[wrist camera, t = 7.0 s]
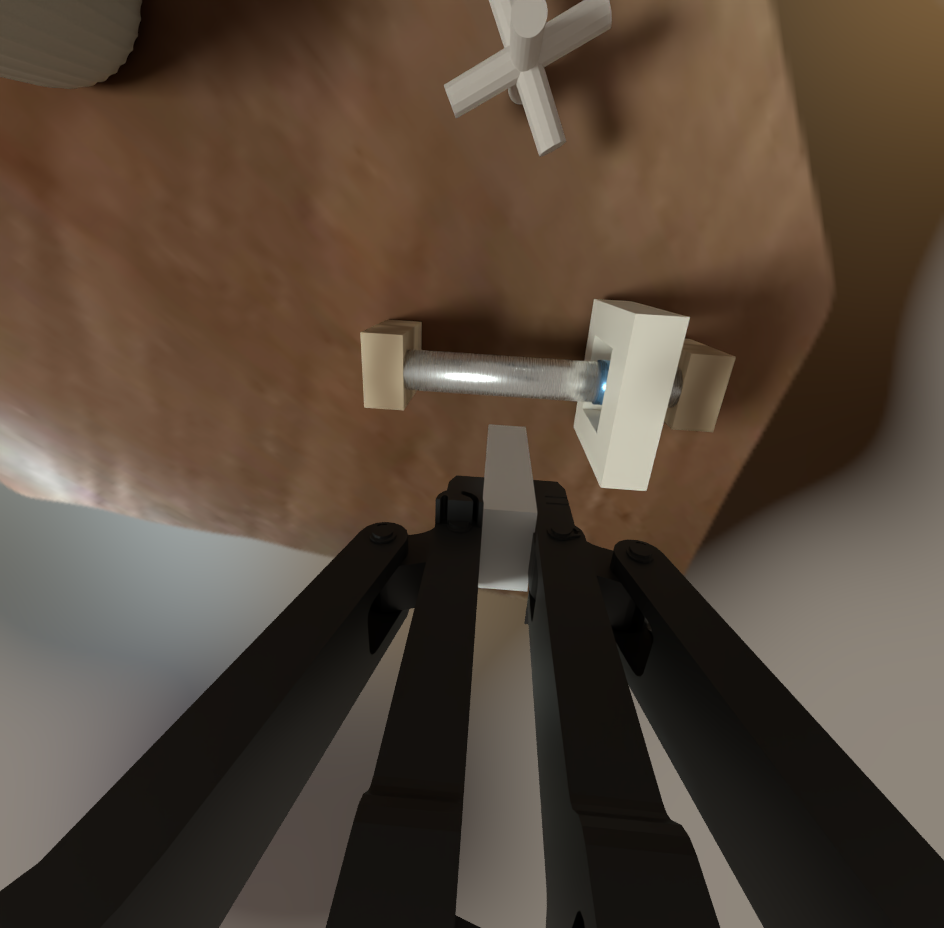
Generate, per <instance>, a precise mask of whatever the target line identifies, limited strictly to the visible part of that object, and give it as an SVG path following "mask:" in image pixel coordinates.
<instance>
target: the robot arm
mask: <svg viewBox="0 0 944 928" xmlns="http://www.w3.org/2000/svg"><path fill="white" fill-rule="evenodd" d="M528 581H529V594H528V601H527V609H526V616H525V624H528V623H529V637H530V652H531V667H532V681H533V696H534V711H535V725H536V740H537V755H538V768H539V784H540V799H541V813H542V828H543V842H544V857H545V872H546V887H547V916H546V928H720V926H719V922H718V920H717V916H716V913H715V910H714V907H713V904H712V901H711V898H710V895H709V892H708V888H707V885H706V882H705V879H704V876H703V873H702V870H701V867H700V864H699V861H698V858H697V855H696V852H695V850H694V848H693V845H692V842H691V840H690V838H689V836H688V834H687V833H686V831H685V830H684V828H683V827H682V825H680V824H678V823H676V822H674V821H672V820H671V819H670V818H669V816H668V815H667V813H666V810H665V808H664V805H663V802H662V799H661V795H660V792H659V788H658V785H657V781H656V778H655V775H654V771H653V768H652V764H651V761H650V757H649V754H648V751H647V747H646V744H645V740H644V737H643V733H642V730H641V727H640V723H639V720H638V716H637V713H636V710H635V706H634V703H633V700H632V696H631V693H630V689H629V687H630V688H631V690H632V692H633V694H634V696H635V697H636V699H637V701H638V703H639V704H640V706H641V708H642V710H643V712H644V713H645V715H646V717H647V719H648V721H649V722H650V724H651V726H652V728H653V730H654V731H655V733H656V735H657V737H658V739H659V740H660V742H661V744H662V746H663V748H664V749H665V751H666V753H667V754H668V757H669V758H670V760H671V762H672V764H673V765H674V767H675V769H676V771H677V773H678V774H679V776H680V778H681V780H682V781H683V783H684V785H685V787H686V789H687V791H688V792H689V794H690V796H691V798H692V800H693V801H694V803H695V805H696V807H697V809H698V810H699V812H700V814H701V816H702V818H703V819H704V821H705V823H706V825H707V826H708V828H709V830H710V832H711V834H712V835H713V837H714V839H715V841H716V842H717V844H718V846H719V848H720V850H721V851H722V853H723V855H724V857H725V859H726V861H727V862H728V864H729V866H730V868H731V870H732V871H733V873H734V875H735V876H736V878H737V880H738V882H739V884H740V886H741V887H742V889H743V891H744V893H745V895H746V896H747V898H748V900H749V902H750V904H751V905H752V907H753V909H754V911H755V913H756V914H757V916H758V918H759V920H760V921H761V923H762V925H763V927H764V928H944V860H943V859H942V858H941V857H940V856H939V855H938V854H937V852H935V850H934V849H933V848H932V847H931V846H930V845H929V844H928V842H927V841H926V840H925V839H924V838H923V837H922V836H921V835H920V834H919V833H918V832H917V831H916V829H915V828H914V827H913V826H912V825H911V824H910V823H909V822H908V821H907V820H906V818H905V817H904V816H903V815H902V814H901V813H900V812H899V811H898V810H897V809H896V807H894V805H893V804H892V803H891V802H890V801H889V800H888V799H887V798H886V797H885V795H884V794H883V793H882V792H881V791H880V790H879V789H878V788H877V787H876V786H875V785H874V783H873V782H872V781H871V780H870V779H869V778H868V777H867V776H866V775H865V774H864V773H863V772H862V771H861V769H860V768H859V767H858V766H857V765H856V764H855V763H854V762H853V760H852V759H851V758H850V757H849V756H848V755H847V754H846V753H845V752H844V751H843V750H842V748H840V746H839V745H838V744H837V743H836V742H835V741H834V740H833V739H832V738H831V737H830V735H829V734H828V733H827V732H826V731H825V730H824V729H823V728H822V727H821V726H820V724H819V723H818V722H817V721H816V720H815V719H814V718H813V717H812V716H811V715H810V713H809V712H808V711H807V710H806V709H805V708H804V707H803V706H802V705H801V704H800V703H799V702H798V701H797V699H796V698H795V697H794V696H793V695H792V694H791V693H790V692H789V691H788V689H787V688H786V687H785V686H784V685H783V684H782V683H781V682H780V681H779V680H778V678H777V677H775V675H774V674H773V673H772V672H771V671H770V670H769V669H768V668H767V666H766V665H765V664H764V663H763V662H762V661H761V660H760V659H759V658H758V657H757V656H756V655H755V653H754V652H753V651H752V650H751V649H750V648H749V647H748V646H747V645H746V644H745V643H744V641H743V640H742V639H741V638H740V637H739V636H738V635H737V634H736V633H735V631H734V630H733V629H732V628H731V627H730V626H729V625H728V624H727V623H726V622H725V621H724V619H723V618H722V617H721V616H720V615H719V614H718V613H717V612H716V611H715V610H714V609H713V608H712V606H711V605H710V604H709V603H708V602H707V601H706V600H705V599H704V598H703V597H702V595H701V594H700V593H699V592H698V591H697V590H696V589H695V588H694V587H693V586H692V584H691V583H690V582H689V581H688V580H687V579H686V578H685V577H684V576H683V575H682V574H681V572H680V571H679V570H678V569H677V568H676V567H675V566H674V565H673V564H672V563H671V562H670V560H669V559H668V558H667V557H666V556H665V555H664V554H663V553H662V552H661V551H660V550H658V549H657V548H656V547H654V546H652V545H650V544H648V543H646V542H643V541H638V540H623V541H619V542H618V543H617V544H616V545H615V547H614V551H612V550H609V549H605V548H601V547H598V546H595V545H593V544H591V543H589V542H587V541H586V538H585V535H584V534H583V532H582V530H581V529H579V528H578V527H576V526H575V525H574V521H573V517H572V514H571V510H570V506H569V503H568V499H567V495H566V492H565V489H564V488H563V487H562V486H561V485H560V484H559V483H558V482H553V481H539V480H533V477H532V470H531V462H530V455H529V448H528V441H527V434H526V427H516V426H502V425H489V427H488V440H487V452H486V465H485V477H484V478H483V477H469V476H455V477H454V478H453V479H452V480H451V481H450V482H449V484H448V489H447V491H444V492H442V493H440V494H439V495H438V496H437V498H436V515H435V528H433V529H432V530H430V531H427V532H424V533H420V534H414V535H408V534H407V530H406V529H405V528H404V527H402V526H401V525H398V524H396V523H389V522H382V523H381V522H380V523H375V524H372V525H369V526H367V527H366V528H364V529H363V530H361V531H360V532H359V533H358V534H357V535H356V536H355V537H354V538H353V540H352V541H351V542H350V543H349V544H348V545H347V546H346V547H345V548H344V549H343V550H342V551H341V552H340V553H339V554H338V555H337V556H336V557H335V558H334V559H333V560H332V561H331V562H330V563H329V565H328V566H326V567H325V568H324V569H323V570H322V572H320V574H319V575H318V576H317V577H316V578H315V579H314V580H313V581H312V582H311V583H310V584H309V585H308V586H307V587H306V588H305V589H304V590H303V591H302V592H301V593H300V594H299V595H298V596H297V597H296V598H295V599H294V600H293V601H292V603H290V604H289V605H288V606H287V608H286V609H285V610H284V611H283V612H282V613H281V614H280V615H279V616H278V617H277V618H276V619H275V620H274V621H273V622H272V623H271V624H270V625H269V626H268V627H267V628H266V629H265V630H264V631H263V632H262V633H261V634H260V635H259V636H258V637H257V639H255V641H254V642H253V643H252V644H251V645H250V646H249V647H248V648H247V649H246V650H245V651H244V652H243V653H242V654H241V655H240V656H239V657H238V658H237V659H236V660H235V661H234V662H233V663H232V664H231V665H230V666H229V667H228V669H226V670H225V671H224V672H223V673H222V674H221V675H220V677H219V678H218V679H217V680H216V681H215V682H214V683H213V684H212V685H211V686H210V687H209V688H208V689H207V690H206V691H205V692H204V693H203V694H202V695H201V696H200V697H199V698H198V699H197V700H196V701H195V702H194V703H193V704H192V705H191V707H189V708H188V709H187V711H186V712H185V713H184V714H183V715H182V716H181V717H180V718H179V719H178V720H177V721H176V722H175V723H174V724H173V725H172V726H171V727H170V728H169V729H168V730H167V731H166V732H165V733H164V734H163V735H162V736H161V737H160V739H158V740H157V741H156V743H154V744H153V746H152V747H151V748H150V749H149V750H148V751H147V752H146V753H145V754H144V755H143V756H142V757H141V758H140V759H139V760H138V761H137V762H136V763H135V764H134V765H133V766H132V767H131V768H130V769H129V770H128V771H127V772H126V773H125V774H124V776H122V777H121V779H120V780H119V781H118V782H117V783H116V784H115V785H114V786H113V787H112V788H111V789H110V790H109V791H108V792H107V793H106V794H105V795H104V796H103V797H102V798H101V799H100V800H99V801H98V802H97V803H96V804H95V805H94V806H93V807H92V808H91V809H90V810H89V811H88V813H86V815H85V816H84V817H83V818H82V819H81V820H80V821H79V822H78V823H77V824H76V825H75V826H74V827H73V828H72V829H71V830H70V831H69V832H68V833H67V834H66V835H65V836H64V837H63V838H62V839H61V841H59V842H58V843H57V844H56V846H54V848H52V850H51V851H50V852H49V853H48V854H47V855H46V856H45V857H44V858H43V859H42V860H41V861H40V862H39V863H38V864H36V865H35V866H34V867H32V868H31V869H29V870H28V871H27V872H26V873H24V874H23V875H21V876H20V877H19V878H17V879H16V880H15V881H13V882H12V883H11V884H9V885H8V886H7V887H5V888H4V889H2V890H1V891H0V928H219V926H220V925H221V923H222V922H223V920H224V918H225V917H226V915H227V913H228V912H229V910H230V908H231V907H232V905H233V903H234V901H235V900H236V898H237V897H238V895H239V893H240V892H241V890H242V888H243V887H244V885H245V883H246V881H247V880H248V878H249V877H250V875H251V874H252V872H253V870H254V869H255V867H256V865H257V864H258V862H259V860H260V859H261V857H262V855H263V853H264V852H265V850H266V849H267V847H268V845H269V844H270V842H271V840H272V839H273V837H274V835H275V834H276V832H277V830H278V829H279V827H280V826H281V823H282V822H283V821H284V819H285V817H286V816H287V814H288V812H289V811H290V809H291V807H292V806H293V804H294V802H295V801H296V799H297V797H298V796H299V794H300V792H301V791H302V789H303V787H304V786H305V784H306V783H307V781H308V779H309V778H310V776H311V774H312V773H313V771H314V769H315V768H316V766H317V764H318V763H319V761H320V759H321V758H322V756H323V754H324V753H325V751H326V749H327V748H328V746H329V744H330V743H331V741H332V739H333V738H334V736H335V734H336V733H337V731H338V730H339V728H340V726H341V725H342V723H343V721H344V720H345V718H346V716H347V715H348V713H349V711H350V710H351V708H352V706H353V705H354V703H355V701H356V699H357V698H358V696H359V695H360V693H361V692H362V690H363V688H364V687H365V685H366V683H367V682H368V680H369V678H370V677H371V675H372V673H373V672H374V670H375V668H376V666H377V665H378V663H379V661H380V660H381V658H382V657H383V655H384V653H385V652H386V650H387V648H388V647H389V645H390V644H391V642H392V640H393V639H394V637H395V635H396V633H397V632H398V630H399V629H400V627H401V625H402V624H403V622H404V620H405V619H406V617H407V615H408V612H409V609H410V608H415V609H414V613H413V617H412V621H411V625H410V629H409V633H408V637H407V642H406V646H405V650H404V654H403V658H402V662H401V666H400V670H399V674H398V678H397V682H396V686H395V690H394V695H393V699H392V702H391V707H390V711H389V715H388V719H387V723H386V727H385V731H384V735H383V739H382V743H381V748H380V752H379V756H378V759H377V764H376V768H375V772H374V776H373V779H372V783H371V786H370V788H369V790H368V791H367V792H365V793H364V794H363V796H362V798H361V800H360V802H359V805H358V808H357V812H356V815H355V818H354V822H353V826H352V830H351V833H350V837H349V841H348V845H347V848H346V852H345V856H344V860H343V864H342V867H341V871H340V875H339V879H338V883H337V887H336V890H335V894H334V898H333V902H332V906H331V909H330V913H329V917H328V921H327V925H326V928H480V927H478V926H476V925H474V924H472V923H470V922H468V921H466V920H464V919H462V918H460V917H458V916H456V915H455V912H456V898H457V883H458V869H459V854H460V840H461V825H462V811H463V795H464V781H465V767H466V752H467V738H468V724H469V710H470V695H471V681H472V666H473V652H474V638H475V622H476V609H477V608H476V607H477V594H478V587H479V588H492V589H504V590H516V591H527V587H528ZM628 685H629V686H628Z"/></svg>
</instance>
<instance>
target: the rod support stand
mask: <svg viewBox="0 0 944 928" xmlns="http://www.w3.org/2000/svg"><path fill="white" fill-rule="evenodd" d="M360 333H361V352H362V371H363V390H364V407H365V408H379V409H393V410H404V409H405V408H406V406H407V405H408V403H409V402H410V400H411V399H412V397H413V396H414V394H415V393H416V391H417V390H406V389H405V386H404V380H403V365H404V357H405V353H406V350H407V349H412V350H422V322H417V321H401V320H386V321H384V322H381V323H379V324H377V325H375V326H373V327H371V328H369V329H367V330H365V331H362V332H360ZM735 358H736V357H735V356H733V355H730V354H728V353H725V352H722V351H720V350H717V349H715V348H712V347H710V346H707V345H704V344H702V343H699V342H697V341H694V340H691V339H684V343H683V347H682V351H681V355H680V359H679V363H678V367H679V368H680V369H681V371H682V375H683V386H682V392H681V395H680V398H679V400H678V402H677V404H676V405H675V406H674V407H672V408H667V411H666V415H665V419H664V422H665V423H666V424H667V425H668V426H669V427H670V428H671V429H676V430H690V431H704V432H713V430H714V427H715V424H716V420H717V417H718V414H719V411H720V407H721V404H722V401H723V397H724V394H725V391H726V388H727V384H728V381H729V378H730V374H731V371H732V368H733V365H734V361H735Z"/></svg>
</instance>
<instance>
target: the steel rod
mask: <svg viewBox="0 0 944 928" xmlns="http://www.w3.org/2000/svg"><path fill="white" fill-rule="evenodd" d="M609 366H610V360H597V362H594V361H579V360H564V359H548V358H533V357H518V356H503V355H488V354H473V353H457V352H442V351H427V350H412V349H407V350H406V353H405V357H404V365H403V380H404V386H405V389H406V390H420V391H435V392H449V393H464V394H478V395H492V396H507V397H521V398H536V399H550V400H565V401H579V402H592V404H594V405H602V403H603V398H604V393H605V387H606V382H607V377H608V371H609ZM682 386H683V375H682V371H681V369H680V368H679V367H677V371H676V375H675V379H674V383H673V387H672V391H671V395H670V399H669V403H668V407H667V408H672V407H674V406H675V405H676V404H677V402H678V400H679V398H680V395H681V392H682Z"/></svg>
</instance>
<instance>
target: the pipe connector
mask: <svg viewBox="0 0 944 928" xmlns="http://www.w3.org/2000/svg"><path fill="white" fill-rule="evenodd" d="M489 2H490V5H491V8H492V11H493V14H494V17H495V20H496V23H497V27H498V30H499V33H500V36H501V39H502V42H503V45H504V49H503V50H501V51H499V52H498V53H496V54H494V55H493V56H491V57H489V58H488V59H486V60H484V61H483V62H481V63H480V64H478V65H476V66H475V67H473V68H471V69H470V70H468V71H466V72H465V73H463V74H461V75H460V76H458V77H456V78H455V79H453V80H451V81H450V82H448V83H447V84H445V85H444V87H445V90H446V93H447V96H448V98H449V101H450V104H451V106H452V109H453V112H454V114H455V117H456V118H458V117H460V116H462V115H463V114H465V113H467V112H468V111H470V110H472V109H474V108H475V107H477V106H479V105H480V104H482V103H484V102H486V101H487V100H489V99H491V98H492V97H494V96H496V95H498V94H499V93H501V92H503V91H504V90H506V89H508V93H509V96H510V98H511V100H512V101H513V102H514V103H516V104H523V107H524V110H525V113H526V116H527V119H528V122H529V125H530V128H531V131H532V135H533V138H534V141H535V144H536V147H537V150H538V153H539V156H544V155H546V154H548V153H550V152H552V151H554V150H556V149H557V148H559V147H560V146H562V145H563V144H564V143H565V142H566V139H565V136H564V132H563V129H562V126H561V122H560V119H559V116H558V112H557V109H556V106H555V102H554V99H553V96H552V92H551V89H550V86H549V82H548V79H547V76H546V72H545V69H544V67H546V66H547V65H549V64H551V63H552V62H554V61H556V60H558V59H559V58H561V57H563V56H564V55H566V54H568V53H570V52H571V51H573V50H575V49H576V48H578V47H580V46H582V45H583V44H585V43H587V42H588V41H590V40H592V39H594V38H595V37H597V36H599V35H600V34H602V33H604V32H606V31H607V30H609V29H611V24H612V15H611V7H610V1H609V0H583V1H582V2H580V3H578V4H577V5H575V6H574V7H572V8H570V9H569V10H567V11H565V12H564V13H562V14H560V15H559V16H557V17H555V18H554V19H552V20H550V21H549V22H547V23H546V20H547V4H546V1H545V0H489Z"/></svg>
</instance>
